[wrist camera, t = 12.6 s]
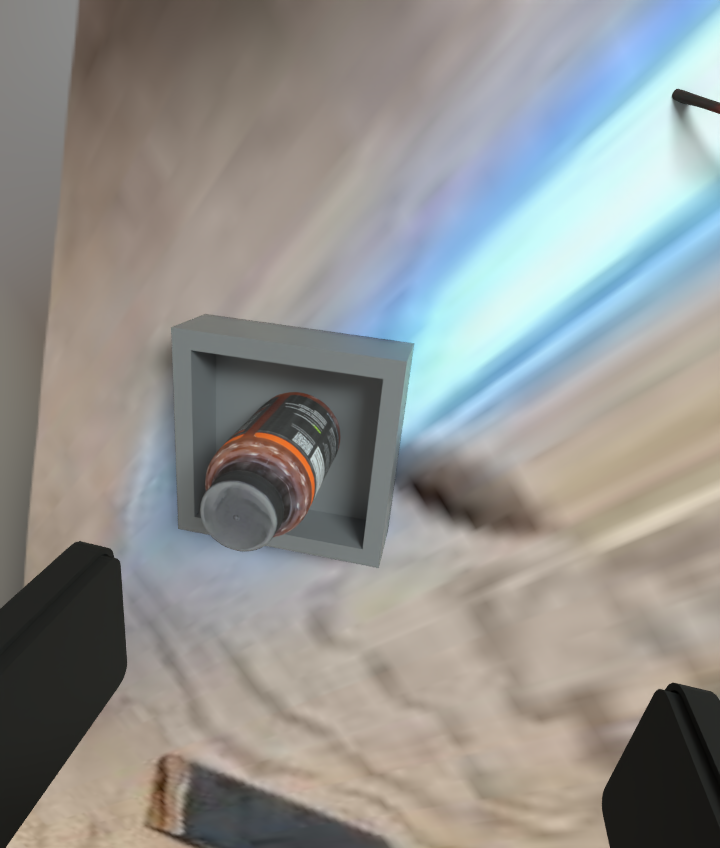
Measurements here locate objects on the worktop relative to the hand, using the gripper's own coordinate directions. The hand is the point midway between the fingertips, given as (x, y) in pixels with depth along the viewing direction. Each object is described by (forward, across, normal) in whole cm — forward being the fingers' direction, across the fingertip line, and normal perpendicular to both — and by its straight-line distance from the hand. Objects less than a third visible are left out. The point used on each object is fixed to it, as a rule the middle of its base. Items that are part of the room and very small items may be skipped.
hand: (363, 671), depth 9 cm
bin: (+26, +8, +9) cm, 29 cm away
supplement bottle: (+25, +8, +8) cm, 28 cm away
